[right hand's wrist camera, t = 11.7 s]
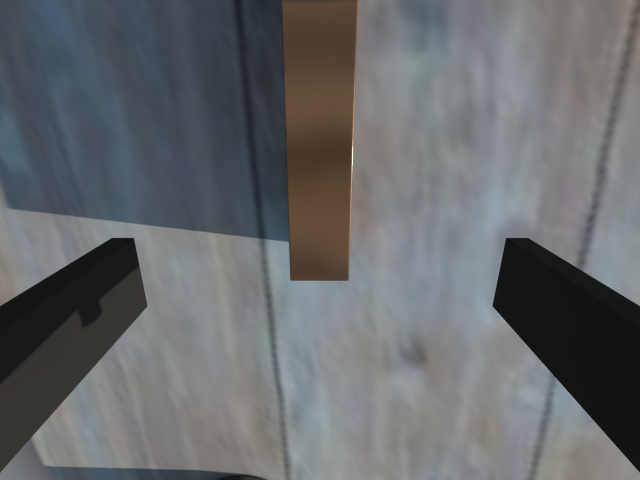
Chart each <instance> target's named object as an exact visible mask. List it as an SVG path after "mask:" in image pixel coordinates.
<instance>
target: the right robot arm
mask: <svg viewBox="0 0 640 480" xmlns="http://www.w3.org/2000/svg"><path fill="white" fill-rule="evenodd" d="M146 307H147V302H146V297H145V292H144V287H143V282H142V277H141V272H140V267H139V262H138V257H137V252H136V247H135V242H134V238H111V239H110V240H108V241H106V242H105V243H103V244H101V245H100V246H98V247H97V248H95V249H93V250H92V251H90V252H88V253H87V254H85V255H83V256H82V257H80V258H79V259H77V260H75V261H74V262H72V263H70V264H69V265H67V266H65V267H64V268H62V269H60V270H59V271H57V272H56V273H54V274H52V275H51V276H49V277H47V278H46V279H44V280H42V281H41V282H39V283H38V284H36V285H34V286H33V287H31V288H29V289H28V290H26V291H24V292H23V293H21V294H19V295H18V296H16V297H15V298H13V299H11V300H10V301H8V302H6V303H5V304H3V305H1V306H0V472H1V471H2V470H3V469H4V468H5V466H6V465H7V464H8V463H9V462H10V461H11V460H12V458H13V457H14V456H15V455H16V454H17V453H18V452H19V451H20V449H21V448H22V447H23V446H24V445H25V444H26V443H27V442H28V440H29V439H30V438H31V437H32V436H33V435H34V434H35V433H36V431H37V430H38V429H39V428H40V427H41V426H42V425H43V423H44V422H45V421H46V420H47V419H48V418H49V417H50V416H51V414H52V413H53V412H54V411H55V410H56V409H57V408H58V407H59V405H60V404H61V403H62V402H63V401H64V400H65V399H66V398H67V396H68V395H69V394H70V393H71V392H72V391H73V390H74V388H75V387H76V386H77V385H78V384H79V383H80V382H81V381H82V379H83V378H84V377H85V376H86V375H87V374H88V373H89V372H90V370H91V369H92V368H93V367H94V366H95V365H96V364H97V363H98V361H99V360H100V359H101V358H102V357H103V356H104V355H105V353H106V352H107V351H108V350H109V349H110V348H111V347H112V346H113V344H114V343H115V342H116V341H117V340H118V339H119V338H120V337H121V335H122V334H123V333H124V332H125V331H126V330H127V329H128V328H129V326H130V325H131V324H132V323H133V322H134V321H135V320H136V318H137V317H138V316H139V315H140V314H141V313H142V312H143V311H144V309H145V308H146ZM493 307H494V308H495V309H496V311H497V312H498V313H499V314H500V315H501V316H502V317H503V318H504V320H505V321H506V322H507V323H508V324H509V325H510V326H511V328H512V329H513V330H514V331H515V332H516V333H517V334H518V335H519V337H520V338H521V339H522V340H523V341H524V342H525V343H526V344H527V346H528V347H529V348H530V349H531V350H532V351H533V352H534V353H535V355H536V356H537V357H538V358H539V359H540V360H541V361H542V363H543V364H544V365H545V366H546V367H547V368H548V369H549V370H550V372H551V373H552V374H553V375H554V376H555V377H556V378H557V379H558V381H559V382H560V383H561V384H562V385H563V386H564V387H565V388H566V390H567V391H568V392H569V393H570V394H571V395H572V396H573V398H574V399H575V400H576V401H577V402H578V403H579V404H580V405H581V407H582V408H583V409H584V410H585V411H586V412H587V413H588V414H589V416H590V417H591V418H592V419H593V420H594V421H595V422H596V423H597V425H598V426H599V427H600V428H601V429H602V430H603V431H604V433H605V434H606V435H607V436H608V437H609V438H610V439H611V440H612V442H613V443H614V444H615V445H616V446H617V447H618V448H619V449H620V451H621V452H622V453H623V454H624V455H625V456H626V457H627V458H628V460H629V461H630V462H631V463H632V464H633V465H634V466H635V468H636V469H637V470H638V471H639V472H640V306H639V305H637V304H635V303H634V302H632V301H630V300H629V299H627V298H625V297H624V296H622V295H621V294H619V293H617V292H616V291H614V290H612V289H611V288H609V287H607V286H606V285H604V284H602V283H601V282H599V281H598V280H596V279H594V278H593V277H591V276H589V275H588V274H586V273H584V272H583V271H581V270H580V269H578V268H576V267H575V266H573V265H571V264H570V263H568V262H566V261H565V260H563V259H561V258H560V257H558V256H557V255H555V254H553V253H552V252H550V251H548V250H547V249H545V248H543V247H542V246H540V245H539V244H537V243H535V242H534V241H532V240H530V239H529V238H506V242H505V247H504V252H503V257H502V262H501V267H500V272H499V277H498V282H497V287H496V292H495V297H494V302H493ZM222 480H264V479H260V478H255V477H231V478H225V479H222Z"/></svg>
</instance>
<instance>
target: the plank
mask: <svg viewBox="0 0 640 480" xmlns="http://www.w3.org/2000/svg"><path fill="white" fill-rule="evenodd" d="M281 11H282V41H283V71H284V101H285V131H286V161H287V191H288V221H289V251H290V279H291V280H292V281H348V280H349V260H350V229H351V198H352V168H353V137H354V106H355V76H356V45H357V14H358V0H281Z"/></svg>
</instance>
